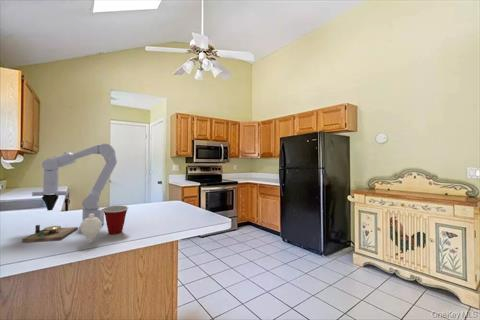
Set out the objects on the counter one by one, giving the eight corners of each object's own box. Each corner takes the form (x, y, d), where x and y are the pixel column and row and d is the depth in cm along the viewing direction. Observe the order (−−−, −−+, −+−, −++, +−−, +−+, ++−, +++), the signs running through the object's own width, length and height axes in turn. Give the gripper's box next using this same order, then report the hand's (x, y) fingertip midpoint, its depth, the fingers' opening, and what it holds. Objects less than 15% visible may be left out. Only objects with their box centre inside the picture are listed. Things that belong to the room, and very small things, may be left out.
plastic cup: (101, 237, 103) (101, 210, 104) (102, 231, 113) (103, 206, 113) (128, 234, 108) (128, 208, 109) (127, 228, 118) (128, 204, 118)
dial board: (77, 229, 115) (77, 223, 115) (61, 239, 100) (61, 233, 100) (44, 231, 112) (44, 225, 112) (22, 242, 96) (22, 235, 96)
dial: (55, 226, 110) (55, 220, 110) (64, 227, 108) (64, 221, 108) (31, 232, 100) (31, 225, 100) (40, 233, 98) (40, 226, 99)
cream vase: (98, 245, 94) (99, 215, 94) (76, 246, 92) (77, 216, 92) (103, 239, 101) (104, 211, 102) (83, 240, 99) (84, 212, 99)
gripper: (71, 182, 121) (70, 208, 121) (38, 182, 118) (37, 209, 118) (64, 183, 114) (63, 210, 114) (29, 183, 111) (28, 211, 111)
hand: (50, 210), depth 115 cm, fingers closed
